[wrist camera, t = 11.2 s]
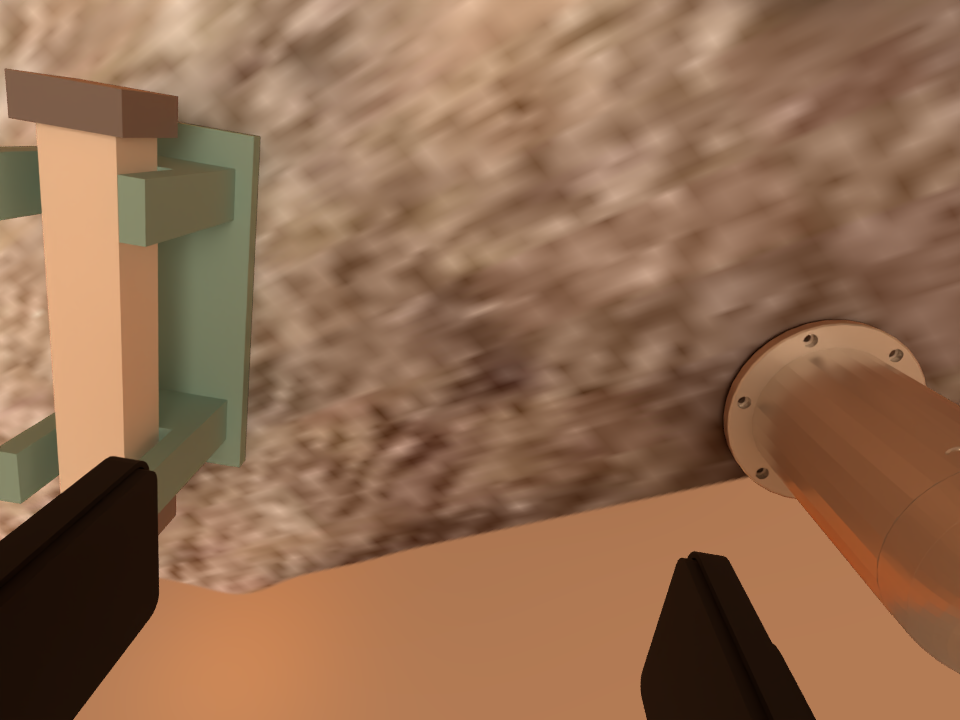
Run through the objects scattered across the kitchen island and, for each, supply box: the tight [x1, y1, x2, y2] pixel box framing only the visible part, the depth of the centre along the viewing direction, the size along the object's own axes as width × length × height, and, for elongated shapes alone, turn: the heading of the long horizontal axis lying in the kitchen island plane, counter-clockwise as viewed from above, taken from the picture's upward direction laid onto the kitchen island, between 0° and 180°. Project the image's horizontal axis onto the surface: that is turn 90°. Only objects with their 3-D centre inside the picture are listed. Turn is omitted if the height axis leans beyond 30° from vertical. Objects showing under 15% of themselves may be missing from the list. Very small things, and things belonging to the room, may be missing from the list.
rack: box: [0, 122, 260, 514], centre depth 36 cm, size 10×22×11 cm, turn 170°
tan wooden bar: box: [5, 69, 178, 535], centre depth 33 cm, size 5×25×5 cm, turn 170°
